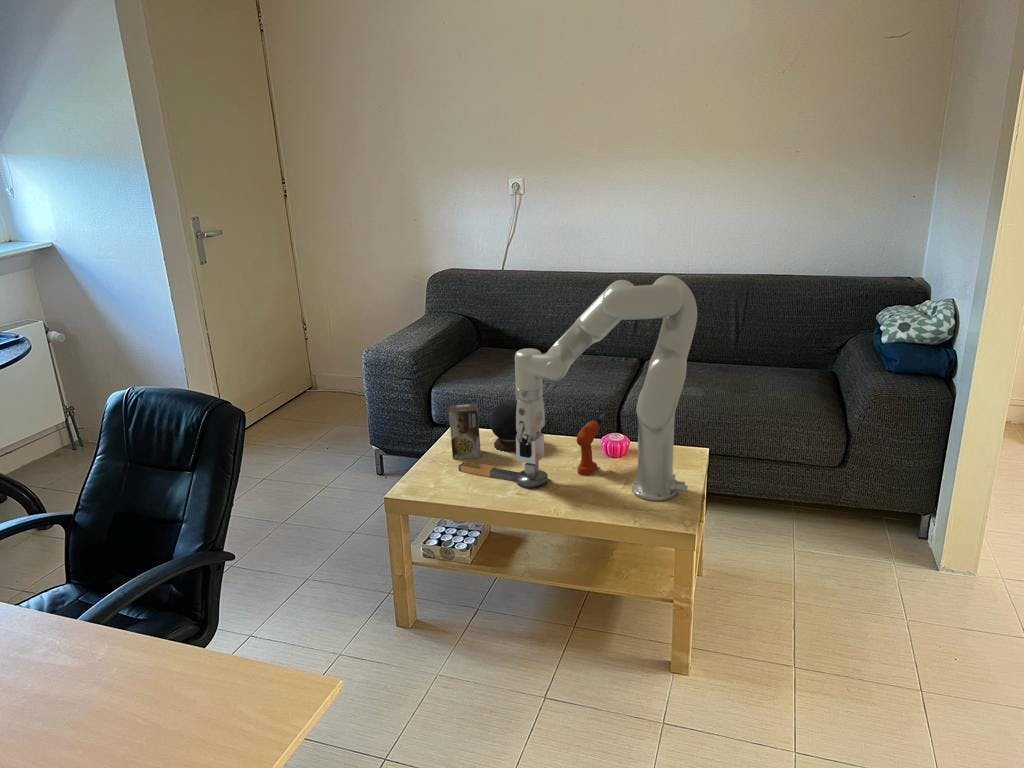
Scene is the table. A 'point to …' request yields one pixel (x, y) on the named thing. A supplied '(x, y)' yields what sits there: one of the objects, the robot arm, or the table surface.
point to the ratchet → (510, 474)
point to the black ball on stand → (504, 426)
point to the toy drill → (588, 446)
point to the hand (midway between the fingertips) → (530, 451)
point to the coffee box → (464, 431)
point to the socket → (532, 449)
